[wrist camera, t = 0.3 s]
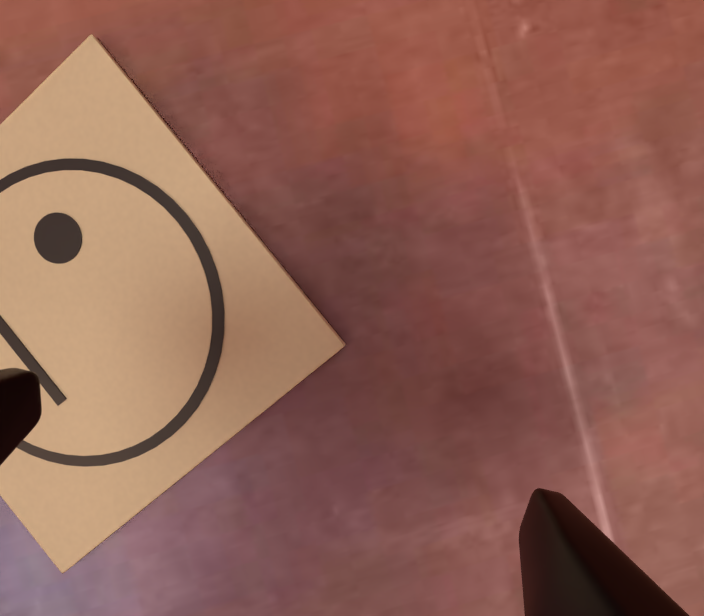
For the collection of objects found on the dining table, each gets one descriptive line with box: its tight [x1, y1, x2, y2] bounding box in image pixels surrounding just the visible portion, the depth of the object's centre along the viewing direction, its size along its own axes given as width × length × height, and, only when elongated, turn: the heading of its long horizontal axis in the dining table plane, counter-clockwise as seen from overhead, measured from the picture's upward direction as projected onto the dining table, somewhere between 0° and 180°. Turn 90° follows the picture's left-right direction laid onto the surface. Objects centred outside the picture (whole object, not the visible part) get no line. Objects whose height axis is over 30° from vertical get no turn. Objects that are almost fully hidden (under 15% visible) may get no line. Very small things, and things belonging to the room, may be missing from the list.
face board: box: [0, 34, 346, 573], centre depth 25 cm, size 20×20×1 cm
